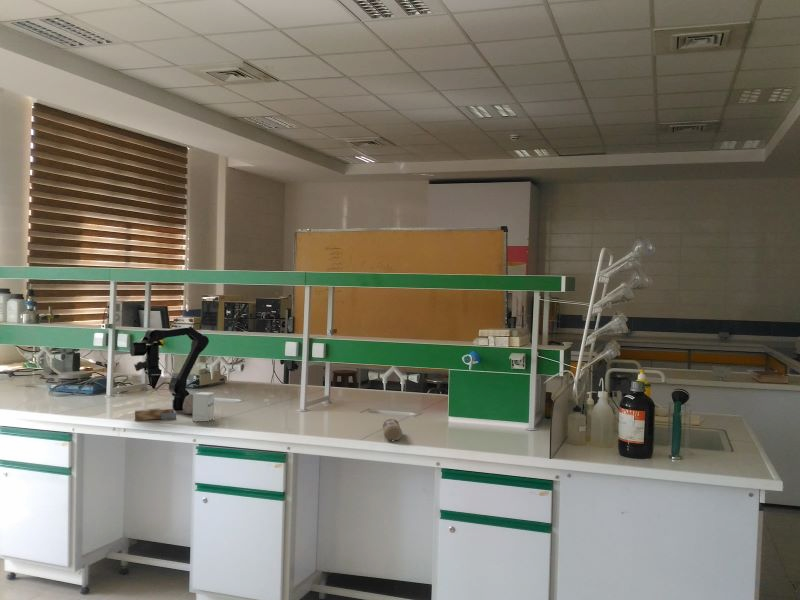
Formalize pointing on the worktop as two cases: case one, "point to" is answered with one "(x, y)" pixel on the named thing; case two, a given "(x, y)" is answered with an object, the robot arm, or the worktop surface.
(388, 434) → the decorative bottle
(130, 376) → the worktop surface
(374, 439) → the worktop surface
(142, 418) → the walnut rail
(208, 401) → the supplement box
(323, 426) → the worktop surface
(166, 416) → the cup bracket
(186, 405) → the pumice stone
